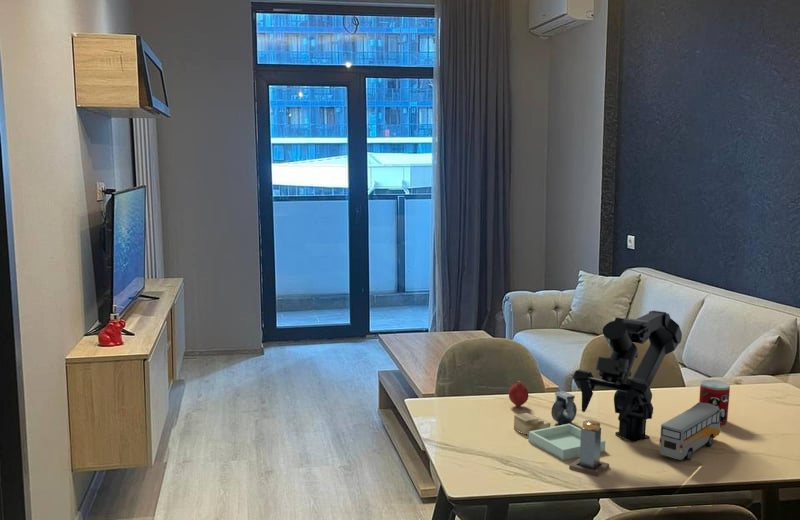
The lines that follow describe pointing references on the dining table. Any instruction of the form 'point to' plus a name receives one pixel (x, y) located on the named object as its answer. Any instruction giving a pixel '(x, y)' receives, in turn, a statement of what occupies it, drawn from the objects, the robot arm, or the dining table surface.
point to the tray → (560, 441)
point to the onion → (518, 394)
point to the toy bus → (690, 431)
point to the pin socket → (597, 472)
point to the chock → (529, 423)
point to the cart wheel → (564, 408)
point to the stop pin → (590, 445)
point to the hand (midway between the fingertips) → (600, 415)
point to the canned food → (716, 396)
